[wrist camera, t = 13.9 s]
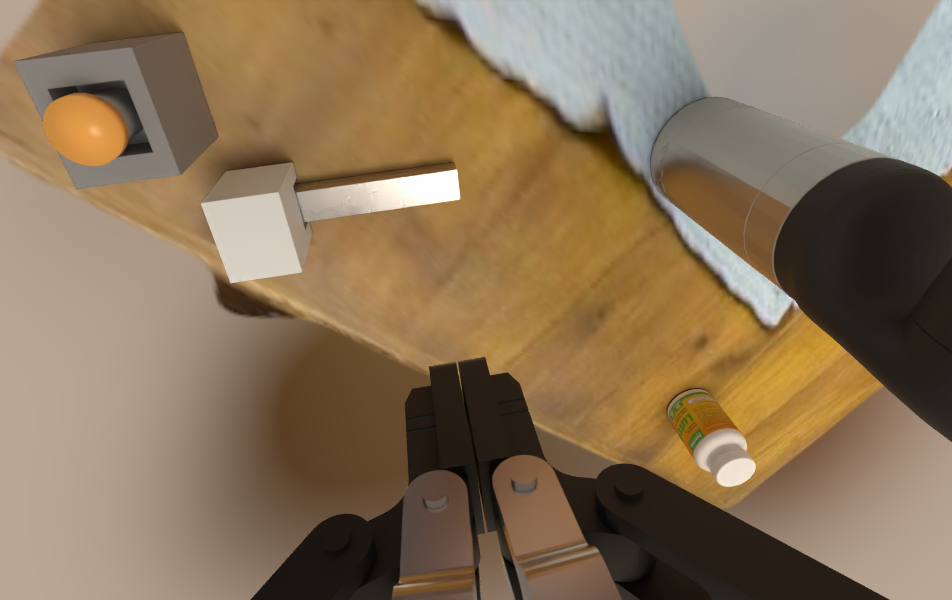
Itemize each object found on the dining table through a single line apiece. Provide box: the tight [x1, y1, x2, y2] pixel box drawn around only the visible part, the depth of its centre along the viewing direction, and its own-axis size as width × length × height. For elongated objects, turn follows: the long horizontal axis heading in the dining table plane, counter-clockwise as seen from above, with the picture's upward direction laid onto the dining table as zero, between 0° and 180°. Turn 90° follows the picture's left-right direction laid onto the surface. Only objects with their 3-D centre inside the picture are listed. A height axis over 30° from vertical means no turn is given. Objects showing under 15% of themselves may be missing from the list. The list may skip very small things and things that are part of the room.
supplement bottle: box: [667, 389, 755, 487], centre depth 58 cm, size 5×5×10 cm
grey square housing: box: [13, 32, 218, 189], centre depth 35 cm, size 6×7×9 cm
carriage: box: [201, 162, 312, 283], centre depth 41 cm, size 5×6×7 cm
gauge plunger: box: [43, 87, 144, 166], centre depth 31 cm, size 4×4×5 cm
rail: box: [293, 162, 460, 222], centre depth 43 cm, size 18×2×2 cm, turn 96°
